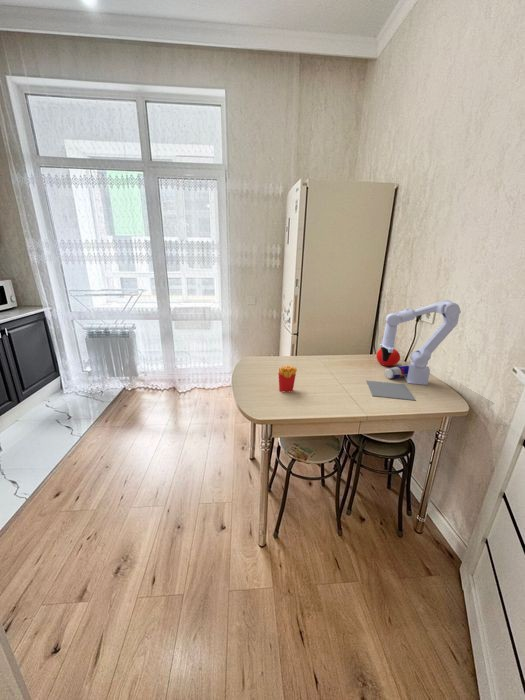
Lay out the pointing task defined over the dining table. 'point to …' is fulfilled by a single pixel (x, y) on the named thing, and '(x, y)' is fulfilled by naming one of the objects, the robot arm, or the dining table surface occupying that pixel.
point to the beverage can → (397, 371)
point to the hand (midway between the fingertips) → (384, 361)
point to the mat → (390, 390)
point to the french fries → (287, 378)
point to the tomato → (392, 359)
